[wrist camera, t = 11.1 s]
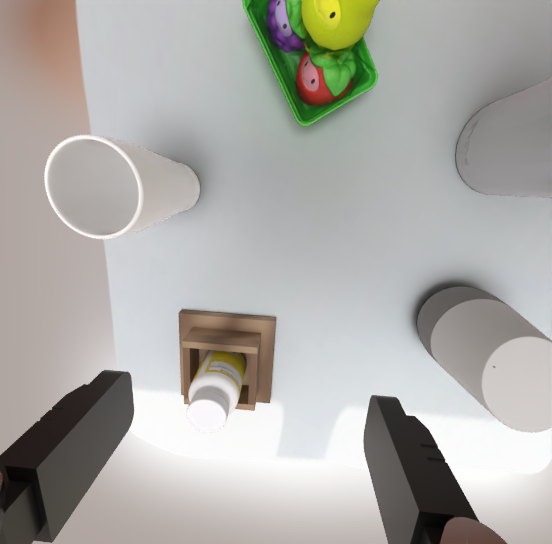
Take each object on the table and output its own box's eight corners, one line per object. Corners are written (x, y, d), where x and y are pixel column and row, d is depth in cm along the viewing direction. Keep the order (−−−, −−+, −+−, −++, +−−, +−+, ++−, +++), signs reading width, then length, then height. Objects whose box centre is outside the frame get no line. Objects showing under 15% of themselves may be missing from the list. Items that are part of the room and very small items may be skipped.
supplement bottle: (219, 383, 39) (196, 446, 30) (198, 350, 38) (167, 405, 29) (255, 368, 38) (243, 427, 29) (234, 334, 37) (214, 384, 28)
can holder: (276, 317, 37) (273, 335, 33) (270, 397, 41) (267, 423, 36) (182, 309, 38) (167, 326, 33) (184, 389, 41) (171, 414, 37)
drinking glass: (151, 216, 35) (51, 238, 20) (146, 154, 33) (32, 130, 18) (208, 219, 34) (147, 243, 20) (207, 156, 33) (139, 134, 18)
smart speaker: (507, 302, 35) (638, 374, 22) (459, 361, 38) (550, 459, 24) (438, 266, 34) (530, 318, 21) (394, 329, 37) (451, 412, 24)
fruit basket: (246, 27, 29) (218, -66, 18) (329, -30, 27) (352, -169, 17) (300, 138, 32) (303, 114, 21) (378, 92, 30) (426, 40, 19)
